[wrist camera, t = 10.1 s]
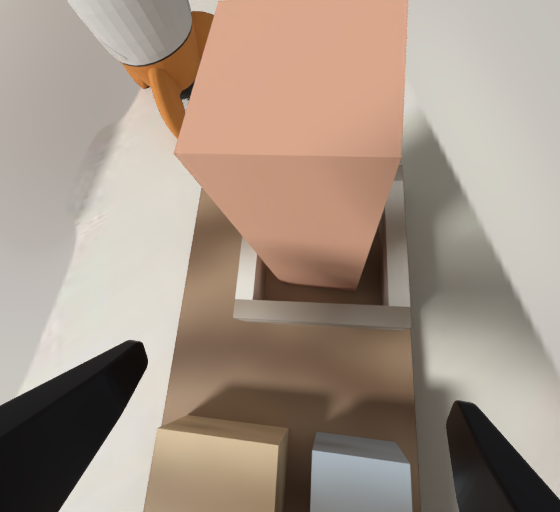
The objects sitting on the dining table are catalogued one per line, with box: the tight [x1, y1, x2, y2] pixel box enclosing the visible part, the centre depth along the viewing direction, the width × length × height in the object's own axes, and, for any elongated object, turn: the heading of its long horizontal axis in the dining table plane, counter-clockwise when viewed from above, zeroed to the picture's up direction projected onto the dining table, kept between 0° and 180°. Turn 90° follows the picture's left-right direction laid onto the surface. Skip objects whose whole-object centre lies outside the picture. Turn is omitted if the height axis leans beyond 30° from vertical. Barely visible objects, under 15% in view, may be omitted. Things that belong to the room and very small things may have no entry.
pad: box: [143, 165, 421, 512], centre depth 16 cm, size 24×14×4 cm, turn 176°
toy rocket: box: [67, 0, 214, 139], centre depth 20 cm, size 10×11×15 cm
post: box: [174, 0, 408, 292], centre depth 12 cm, size 4×4×13 cm
